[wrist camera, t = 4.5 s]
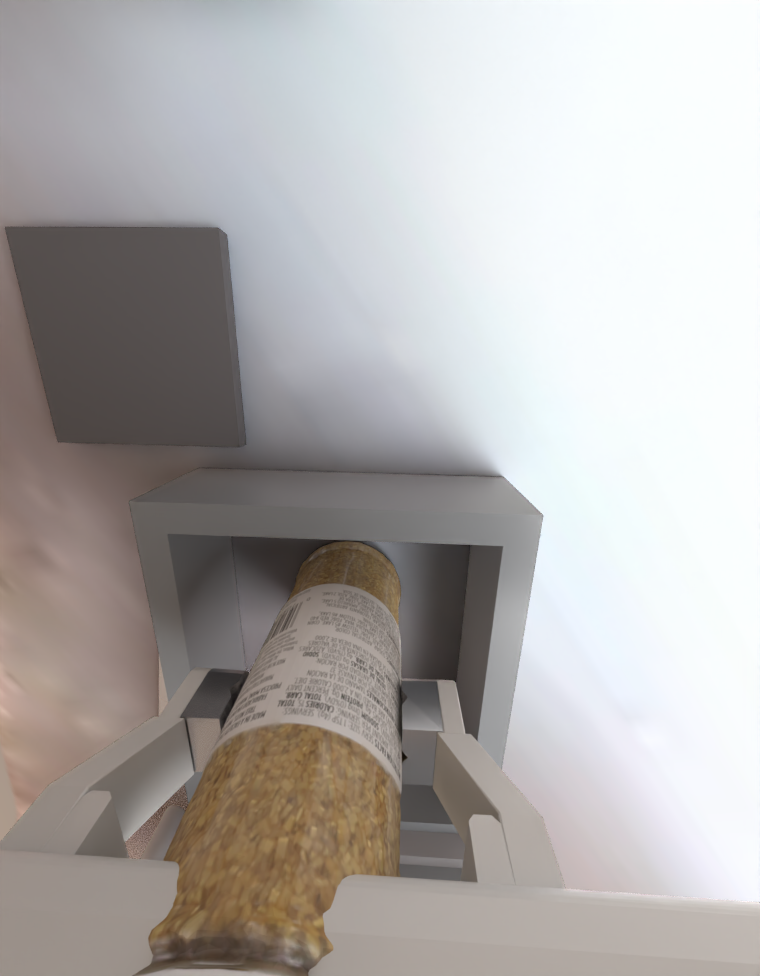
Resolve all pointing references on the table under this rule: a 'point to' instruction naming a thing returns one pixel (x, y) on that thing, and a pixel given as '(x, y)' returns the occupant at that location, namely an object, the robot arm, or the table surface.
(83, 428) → the pad
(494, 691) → the case
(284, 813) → the sprinkles bottle
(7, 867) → the robot arm
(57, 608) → the table surface
